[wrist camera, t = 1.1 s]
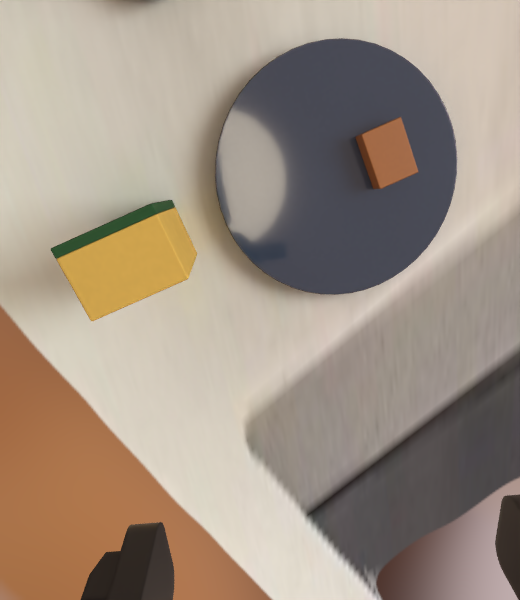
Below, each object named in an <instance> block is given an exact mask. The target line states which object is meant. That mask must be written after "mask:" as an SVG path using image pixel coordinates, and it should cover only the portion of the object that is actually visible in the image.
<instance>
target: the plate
mask: <svg viewBox="0 0 520 600" xmlns="http://www.w3.org/2000/svg"><path fill="white" fill-rule="evenodd" d="M399 117H401V119H402V122H403V125H404V128H405V131H406V134H407V138H408V141H409V144H410V147H411V150H412V153H413V156H414V159H415V163H416V166H417V169H418V173H416V174H414V175H411V176H409V177H407V178H405V179H402V180H400V181H398V182H395V183H393V184H391V185H389V186H386V187H384V188H382V189H373V186H372V184H371V181H370V178H369V175H368V172H367V169H366V166H365V164H364V161H363V158H362V155H361V152H360V149H359V146H358V144H357V141H356V136H358V135H360V134H362V133H365V132H367V131H369V130H371V129H374V128H376V127H378V126H380V125H383V124H385V123H387V122H389V121H392V120H394V119H396V118H399ZM456 175H457V150H456V140H455V136H454V131H453V127H452V123H451V120H450V118H449V115H448V112H447V109H446V107H445V105H444V103H443V102H442V100H441V98H440V96H439V94H438V93H437V91H436V90H435V88H434V87H433V85H432V84H431V83H430V81H429V80H428V79H427V78H426V77H425V76H424V75H423V74H422V73H421V72H420V70H419V69H418V68H416V67H415V66H414V65H413V64H411V63H410V62H409V61H408V60H406V59H405V58H403V57H402V56H400V55H398V54H397V53H395V52H393V51H391V50H389V49H387V48H384V47H382V46H379V45H377V44H374V43H370V42H366V41H362V40H355V39H343V38H341V39H325V40H320V41H316V42H311V43H307V44H304V45H302V46H299V47H296V48H294V49H291V50H290V51H288V52H286V53H284V54H282V55H280V56H278V57H277V58H275V59H274V60H273V61H271V62H270V63H269V64H267V65H266V66H264V67H263V68H262V69H261V70H260V71H259V72H258V73H257V74H256V75H255V76H254V77H253V78H252V79H251V80H250V81H249V82H248V83H247V85H246V86H245V87H244V88H243V90H242V91H241V92H240V94H239V95H238V97H237V98H236V100H235V102H234V103H233V105H232V107H231V109H230V111H229V113H228V115H227V118H226V120H225V122H224V125H223V128H222V131H221V135H220V138H219V142H218V148H217V154H216V168H215V179H216V189H217V196H218V200H219V204H220V208H221V212H222V214H223V217H224V220H225V222H226V225H227V227H228V229H229V231H230V233H231V234H232V236H233V238H234V240H235V241H236V243H237V244H238V246H239V247H240V248H241V250H242V251H243V252H244V254H245V255H246V256H247V257H248V258H249V259H250V260H251V261H252V262H253V263H254V264H255V265H256V266H257V267H259V268H260V269H261V270H262V271H263V272H265V273H266V274H267V275H269V276H271V277H272V278H274V279H275V280H277V281H279V282H281V283H283V284H285V285H288V286H290V287H292V288H295V289H299V290H302V291H305V292H311V293H317V294H334V295H336V294H346V293H353V292H357V291H361V290H365V289H368V288H371V287H374V286H376V285H379V284H381V283H383V282H385V281H387V280H389V279H391V278H393V277H394V276H395V275H397V274H398V273H400V272H401V271H403V270H404V269H406V268H407V267H408V266H409V265H410V264H411V263H412V262H414V261H415V260H416V259H417V258H418V257H419V256H420V255H421V254H422V252H423V251H424V250H425V249H426V248H427V247H428V245H429V244H430V243H431V241H432V240H433V238H434V237H435V236H436V234H437V232H438V230H439V229H440V227H441V225H442V223H443V221H444V219H445V217H446V214H447V212H448V209H449V207H450V204H451V200H452V196H453V193H454V189H455V182H456Z"/></svg>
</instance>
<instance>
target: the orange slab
mask: <svg viewBox="0 0 520 600" xmlns="http://www.w3.org/2000/svg"><path fill="white" fill-rule="evenodd" d="M356 141H357V144H358V146H359V149H360V152H361V155H362V158H363V161H364V164H365V166H366V169H367V172H368V175H369V178H370V181H371V184H372V186H373V189H382V188H384V187H386V186H389V185H391V184H393V183H395V182H398V181H400V180H402V179H405V178H407V177H409V176H411V175H414V174H416V173H418V169H417V166H416V163H415V159H414V156H413V153H412V150H411V147H410V144H409V141H408V138H407V134H406V131H405V128H404V125H403V122H402V119H401V117H399V118H396V119H394V120H392V121H389V122H387V123H385V124H383V125H380V126H378V127H376V128H374V129H371V130H369V131H367V132H365V133H362V134H360V135H358V136H356Z"/></svg>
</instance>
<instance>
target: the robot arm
mask: <svg viewBox="0 0 520 600" xmlns="http://www.w3.org/2000/svg"><path fill="white" fill-rule="evenodd" d="M495 545H496V552H497V557H498V560H499V563H500V565H501V568H502V570H503V572H504V574H505V576H506V578H507V579H508V581H509V583H510V585H511V586H512V589H513V590H514V592H515V594H516V596H517V598H518V599H519V600H520V495H511V496H504V498H503V499H502V504H501V509H500V516H499V522H498V528H497V535H496V541H495ZM173 593H174V567H173V562H172V558H171V553H170V549H169V545H168V541H167V537H166V533H165V528H164V525H163V523H161V522H160V523H148V524H135V525H130V526H129V527H128V529H127V532H126V535H125V538H124V541H123V545H122V548H121V551H116V552H106V553H105V554H104V556H103V557H102V559H101V560H100V561H99V562H98V564H97V565H96V567H95V568H94V569H93V571H92V572H91V573H90V575H89V578H88V580H87V583H86V586H85V589H84V592H83V595H82V598H81V600H173Z"/></svg>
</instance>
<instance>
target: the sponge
mask: <svg viewBox="0 0 520 600" xmlns="http://www.w3.org/2000/svg"><path fill="white" fill-rule="evenodd" d="M174 207H175V206H174V204H173V202H172V200H168V201H163V202H157V203H152V204H149V205H147V206H145V207H142V208H140V209H138V210H136V211H133V212H131V213H129V214H127V215H124V216H122V217H120V218H118V219H116V220H113V221H111V222H109V223H107V224H104V225H102V226H100V227H98V228H95V229H93V230H91V231H89V232H86V233H84V234H82V235H80V236H78V237H75V238H73V239H71V240H69V241H66V242H64V243H62V244H60V245H57V246H55V247H53V248H51V251H52V253H53V255H54V256H55V258H57V261H58V263H59V265H60V267H61V268H62V270H63V272H64V274H65V276H66V277H67V279H68V281H69V283H70V284H71V286H72V288H73V290H74V292H75V293H76V295H77V297H78V299H79V300H80V302H81V304H82V306H83V308H84V309H85V311H86V313H87V315H88V316H89V318H90V320H91V321H94V320H97V319H99V318H101V317H103V316H106V315H108V314H110V313H112V312H115V311H117V310H119V309H121V308H124V307H126V306H128V305H130V304H133V303H135V302H137V301H139V300H142V299H144V298H146V297H148V296H151V295H153V294H155V293H157V292H160V291H162V290H164V289H166V288H169V287H171V286H173V285H175V284H178V283H180V282H182V281H184V280H187V279H188V277H189V275H190V272H191V269H192V266H193V264H194V261H195V258H196V256H197V252H196V250H195V248H194V246H193V244H192V242H191V240H190V238H189V235H188V233H187V231H186V229H185V227H184V225H183V223H182V221H181V219H180V216H179V214H178V212H177V210H176V208H174Z"/></svg>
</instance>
